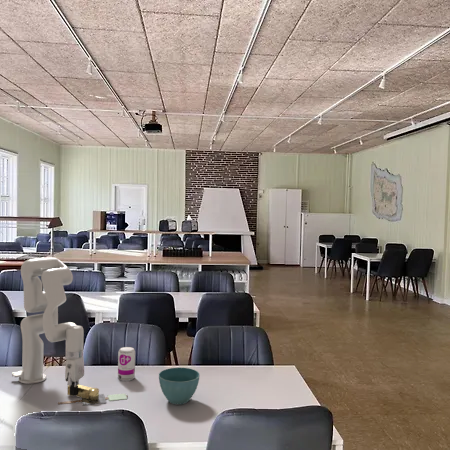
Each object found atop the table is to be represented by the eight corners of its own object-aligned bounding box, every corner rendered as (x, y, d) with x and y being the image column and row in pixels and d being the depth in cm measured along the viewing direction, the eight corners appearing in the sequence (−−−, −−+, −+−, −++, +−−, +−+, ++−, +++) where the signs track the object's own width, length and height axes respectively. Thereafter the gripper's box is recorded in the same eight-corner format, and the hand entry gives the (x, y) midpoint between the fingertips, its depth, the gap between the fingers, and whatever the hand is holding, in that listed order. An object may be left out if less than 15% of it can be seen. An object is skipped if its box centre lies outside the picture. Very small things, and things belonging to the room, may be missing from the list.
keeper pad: (109, 401, 219) (109, 400, 219) (107, 395, 224) (107, 395, 224) (127, 399, 221) (127, 398, 221) (125, 394, 227) (125, 393, 227)
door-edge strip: (58, 404, 213) (58, 404, 213) (57, 402, 215) (57, 402, 215) (127, 397, 224) (127, 396, 224) (127, 395, 225) (127, 395, 225)
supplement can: (130, 382, 242) (131, 352, 242) (115, 380, 244) (115, 350, 243) (137, 376, 250) (137, 347, 250) (121, 374, 252) (122, 345, 251)
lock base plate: (82, 405, 213) (82, 405, 213) (81, 396, 222) (81, 396, 222) (106, 403, 216) (106, 402, 216) (103, 394, 226) (103, 393, 226)
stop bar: (100, 397, 220) (100, 389, 220) (94, 401, 216) (94, 392, 216) (74, 391, 227) (74, 382, 226) (67, 394, 223) (67, 385, 222)
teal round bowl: (182, 413, 209) (183, 384, 208) (149, 402, 219) (150, 375, 218) (206, 399, 224) (207, 372, 224) (174, 390, 234) (175, 364, 233)
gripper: (74, 359, 211) (74, 402, 211) (89, 349, 225) (89, 389, 226) (58, 358, 212) (58, 400, 212) (73, 348, 226) (73, 388, 227)
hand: (74, 394), depth 219 cm, fingers closed
